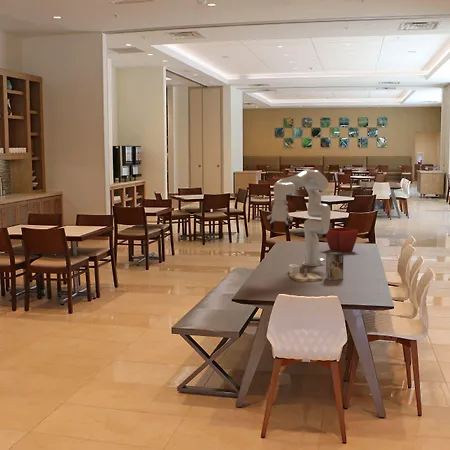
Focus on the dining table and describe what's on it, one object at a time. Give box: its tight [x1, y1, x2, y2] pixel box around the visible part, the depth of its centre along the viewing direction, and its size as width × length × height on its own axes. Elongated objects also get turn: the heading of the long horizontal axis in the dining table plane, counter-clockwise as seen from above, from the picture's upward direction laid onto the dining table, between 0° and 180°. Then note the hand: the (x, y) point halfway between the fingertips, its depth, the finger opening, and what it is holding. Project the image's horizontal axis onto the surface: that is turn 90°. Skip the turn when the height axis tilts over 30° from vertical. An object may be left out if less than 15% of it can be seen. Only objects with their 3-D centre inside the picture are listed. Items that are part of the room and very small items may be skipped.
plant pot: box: [325, 226, 359, 253], centre depth 481 cm, size 19×19×17 cm
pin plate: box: [288, 268, 323, 283], centre depth 385 cm, size 16×16×6 cm
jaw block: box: [288, 264, 301, 274], centre depth 400 cm, size 5×7×5 cm
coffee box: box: [325, 251, 344, 281], centre depth 383 cm, size 9×6×16 cm
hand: (279, 230), depth 389 cm, fingers open, 9 cm apart
